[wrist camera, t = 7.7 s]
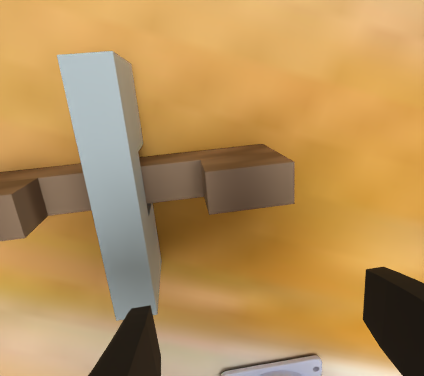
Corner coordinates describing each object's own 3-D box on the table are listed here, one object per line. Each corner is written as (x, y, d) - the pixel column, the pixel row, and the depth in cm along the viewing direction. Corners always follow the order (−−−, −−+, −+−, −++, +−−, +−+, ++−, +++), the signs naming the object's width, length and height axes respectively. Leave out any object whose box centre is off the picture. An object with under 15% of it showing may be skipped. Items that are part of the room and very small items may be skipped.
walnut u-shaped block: (262, 144, 18) (294, 161, 13) (263, 175, 19) (294, 203, 14) (-18, 174, 17) (-95, 206, 12) (-7, 207, 17) (-75, 250, 12)
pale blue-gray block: (161, 260, 20) (157, 314, 15) (130, 265, 19) (116, 320, 15) (131, 64, 16) (112, 50, 11) (92, 66, 16) (57, 55, 11)
